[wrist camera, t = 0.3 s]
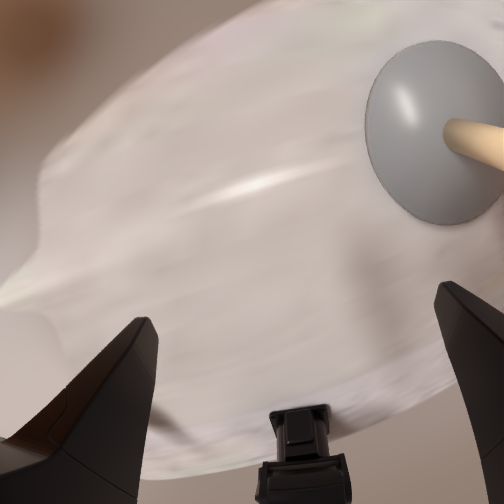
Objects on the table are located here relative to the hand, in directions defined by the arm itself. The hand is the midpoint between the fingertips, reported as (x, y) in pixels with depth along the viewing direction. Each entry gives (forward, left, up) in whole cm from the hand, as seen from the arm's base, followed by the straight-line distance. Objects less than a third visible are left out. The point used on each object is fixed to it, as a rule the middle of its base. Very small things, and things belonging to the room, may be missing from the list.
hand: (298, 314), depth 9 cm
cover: (+2, -14, -14) cm, 20 cm away
